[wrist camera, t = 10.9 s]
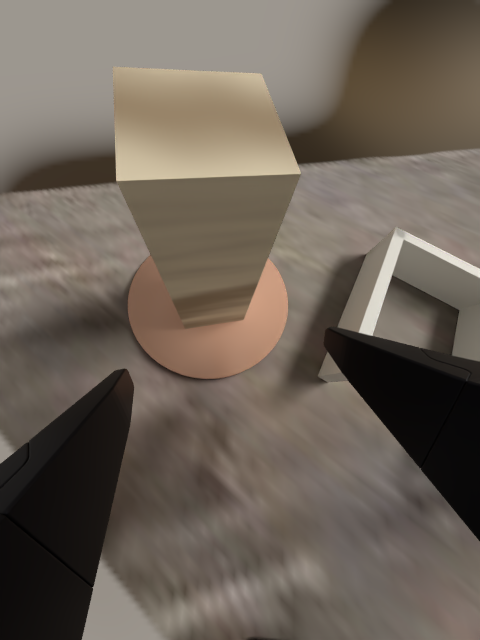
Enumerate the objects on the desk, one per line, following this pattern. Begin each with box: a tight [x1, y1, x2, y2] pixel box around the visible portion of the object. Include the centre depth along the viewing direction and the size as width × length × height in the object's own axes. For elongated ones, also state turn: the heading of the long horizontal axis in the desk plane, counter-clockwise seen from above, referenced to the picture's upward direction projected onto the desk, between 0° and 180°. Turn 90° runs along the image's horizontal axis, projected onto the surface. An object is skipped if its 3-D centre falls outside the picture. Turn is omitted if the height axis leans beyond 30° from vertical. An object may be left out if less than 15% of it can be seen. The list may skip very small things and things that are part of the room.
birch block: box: [113, 67, 301, 329], centre depth 13 cm, size 5×5×13 cm
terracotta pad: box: [128, 255, 288, 379], centre depth 19 cm, size 14×14×1 cm
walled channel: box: [318, 227, 480, 382], centre depth 18 cm, size 15×12×4 cm
